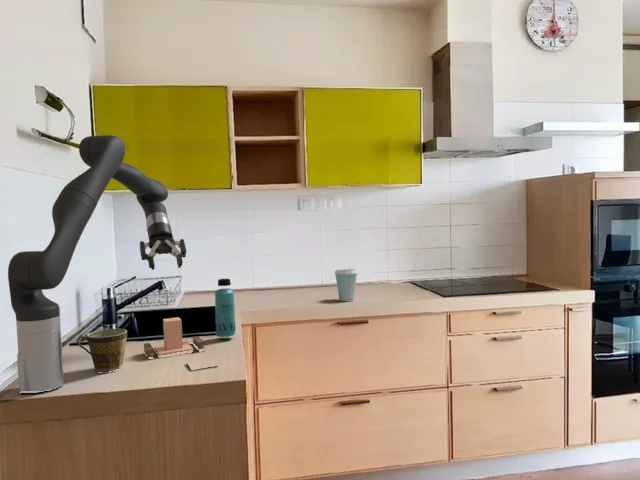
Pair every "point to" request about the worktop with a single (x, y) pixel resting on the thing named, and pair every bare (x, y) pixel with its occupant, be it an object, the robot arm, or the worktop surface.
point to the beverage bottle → (224, 310)
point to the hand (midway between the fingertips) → (166, 267)
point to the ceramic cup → (106, 348)
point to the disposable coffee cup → (346, 283)
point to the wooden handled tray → (149, 352)
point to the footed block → (172, 338)
